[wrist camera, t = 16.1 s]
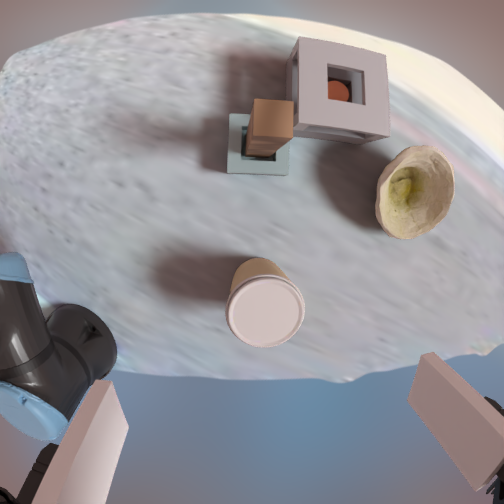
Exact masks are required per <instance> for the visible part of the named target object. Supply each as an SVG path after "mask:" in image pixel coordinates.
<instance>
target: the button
mask: <svg viewBox="0 0 504 504" xmlns="http://www.w3.org/2000/svg"><path fill="white" fill-rule="evenodd" d="M348 98H349V92H348V89H347V88H346V86H345V85H344V84H343V83H341V82H339V81H330V82H328V99H332V100H338V101H344V102H347V100H348Z"/></svg>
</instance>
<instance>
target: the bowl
mask: <svg viewBox="0 0 504 504" xmlns="http://www.w3.org/2000/svg"><path fill="white" fill-rule="evenodd" d="M454 183H455V181H454V168H453V165H452V164H451V163H449V161H448V159H447V158H446V156H445V155H444V154H443V153H442V152H441V151H439V150H438V149H437V148H436V147H433V146H431V147H430V146H424V145H423V146H412V147H409V148H406V149H404V150H403V151H401V153H399V154H398V155H397V156H396V158H395V159H394V160H393V161H392V162H391V163H389V164H388V165H387V166H386V167H385V169H384V171H383V173H382V174H381V175H380V177H379V179H378V185H377V199H376V204H375V209H376V213H375V215H376V217H377V220H378V222H379V223H380V224H381V226H382V228H383V230H384V231H385V232H386V233H387V234H388V236H389V237H394V238H398V239H412V238H415V237H417V236H419V235H421V234H424V233H426V232H429V231H430V230H431V229H433V228H434V227H435V226H436V225H437V224H439V223H440V222H441V221H442V220H443V218H444V217H445V216H446V215H447V213H448V211H449V207H450V204H451V202H452V200H453V198H454Z"/></svg>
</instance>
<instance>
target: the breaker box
mask: <svg viewBox="0 0 504 504" xmlns="http://www.w3.org/2000/svg"><path fill="white" fill-rule="evenodd" d="M330 81H339V82H341V83H343V84H344V85H345V86H346V88H347V89H348V92H349V98H348V100H347V102H344V101H338V100H332V99H328V82H330ZM286 101H293V102H294V111H293V137H304V138H314V139H323V140H331V141H339V142H346V143H353V144H360V145H361V144H365V143H368V142H372V141H376V140H379V139H383V138H387V137H390V106H389V87H388V74H387V63H386V55H384V54H380V53H377V52H373V51H369V50H366V49H362V48H357V47H353V46H349V45H344V44H340V43H335V42H330V41H324V40H318V39H312V38H306V37H298V40H297V42H296V44H295V46H294V48H293V50H292V52H291V55H290V57H289V59H288V61H287V63H286Z"/></svg>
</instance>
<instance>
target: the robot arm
mask: <svg viewBox="0 0 504 504" xmlns="http://www.w3.org/2000/svg"><path fill="white" fill-rule="evenodd" d="M33 284H34V281H33V280H32V279H31V276H30V273H29V270H28V267H27V263H26V260H25V258H24V257H23V256H22V255H21V254H20V253H18V252H9V253H3V254H0V414H1V415H2V416H3V417H4V418H5V419H6V420H7V421H8V422H9V423H11V424H12V425H13V426H14V427H16V428H17V429H18V430H20V431H21V432H23V433H24V434H26V435H28V436H30V437H32V438H35V439H38V440H42V441H51V440H54V439H56V438H57V437H58V436H59V435H60V433H61V432H62V430H63V429H64V428H65V427H66V426H67V425H68V422H69V420H70V419H71V417H72V415H73V413H74V412H75V410H76V408H77V406H78V404H79V403H80V401H81V399H82V398H83V396H84V394H85V393H86V391H87V389H88V388H89V386H91V385H92V387H91V389H90V390H89V392H88V394H87V396H86V397H85V399H84V401H83V402H82V404H81V406H80V408H79V410H78V411H77V413H76V415H75V417H74V419H73V421H72V422H71V424H70V426H69V428H68V430H67V432H66V434H65V435H64V438H63V439H62V441H61V443H60V445H56V444H53V443H50V444H49V445H47V446H46V447H45V448H44V449H42V451H41V452H40V454H39V455H38V457H37V459H36V463H34V465H33V467H32V471H30V472H29V474H28V477H27V478H26V481H25V482H24V484H23V487H22V488H21V490H20V493H19V495H18V497H17V498H16V499H15V498H14V497H13V496H12V495H11V494H10V493H9V492H8V491H7V490H6V489H4V488H2V487H0V504H105V503H106V499H107V495H108V492H109V488H110V485H111V482H112V478H113V475H114V472H115V469H116V465H117V462H118V459H119V456H120V452H121V449H122V446H123V443H124V440H125V437H126V434H127V431H128V428H129V426H128V424H127V422H126V419H125V416H124V414H123V411H122V408H121V406H120V403H119V400H118V398H117V394H116V392H115V389H114V386H113V383H112V381H106V380H101V379H102V378H104V377H106V376H107V375H108V374H109V372H110V371H111V369H112V368H113V366H114V364H115V362H116V359H117V347H116V343H115V340H114V337H113V335H112V333H111V332H110V330H109V328H108V327H107V326H106V324H105V323H104V322H103V321H102V320H101V319H100V318H99V317H98V316H97V315H96V314H94V313H93V312H92V311H90V310H88V309H86V308H84V307H82V306H79V305H73V304H68V305H63V306H61V307H59V308H58V309H56V310H55V311H54V312H53V313H51V314H50V316H49V317H48V318H47V320H46V322H45V319H44V316H43V313H42V310H41V307H40V304H39V301H38V298H37V295H36V292H35V288H34V285H33ZM407 401H408V403H409V404H410V405H411V407H412V408H413V409H414V410H415V412H416V413H417V414H418V416H419V417H420V418H421V419H422V421H423V422H424V423H425V424H426V426H427V427H428V429H429V430H430V431H431V433H432V434H433V435H434V436H435V438H436V439H437V440H438V442H439V443H440V444H441V446H442V447H443V448H444V450H445V451H446V452H447V454H448V455H449V456H450V458H451V459H452V460H453V462H454V463H455V465H456V466H457V467H458V469H459V470H460V471H461V472H462V474H463V475H464V477H465V478H466V480H467V481H468V482H469V484H470V485H471V486H472V488H473V489H474V491H477V490H479V489H480V488H482V487H483V486H485V485H486V484H488V483H489V481H490V480H491V479H492V478H493V477H494V476H495V474H496V475H497V476H498V478H497V479H496V480H495V481H494V482H493V484H492V485H491V486H490V487H489V488H488V489H487V492H486V494H488V493H489V492H490V491H491V490H492V489H493V488H494V487H495V489H494V490H493V491H492V493H491V494H494V498H493V504H504V409H502V407H501V406H500V405H499V404H498V403H497V402H496V401H494V400H492V399H490V398H488V397H484V398H483V397H482V396H481V395H480V394H479V393H478V392H477V391H476V390H475V389H474V388H472V386H470V385H469V384H468V383H467V382H466V381H465V380H464V379H463V378H462V377H461V376H460V375H459V374H457V373H456V372H455V371H454V370H453V369H452V368H451V367H450V366H449V365H448V364H446V363H445V362H444V361H443V360H442V359H441V358H440V357H439V356H437V355H436V354H435V353H434V352H431V353H427V354H424V355H421V357H420V361H419V364H418V368H417V372H416V374H415V378H414V381H413V384H412V387H411V390H410V393H409V396H408V399H407Z"/></svg>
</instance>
